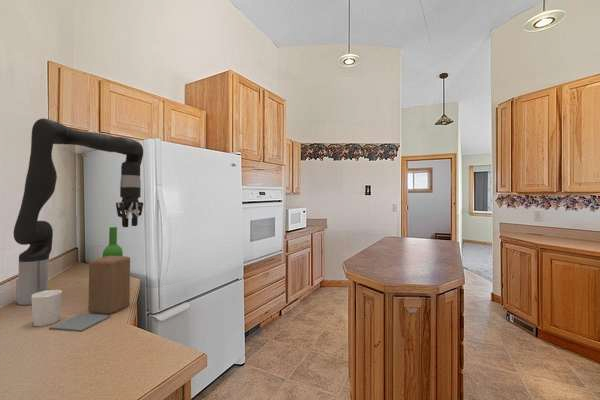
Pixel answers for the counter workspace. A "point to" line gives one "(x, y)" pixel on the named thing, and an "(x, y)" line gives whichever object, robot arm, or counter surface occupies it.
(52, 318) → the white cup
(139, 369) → the counter surface
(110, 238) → the wine bottle
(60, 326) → the slate rubber mat
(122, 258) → the wooden block
